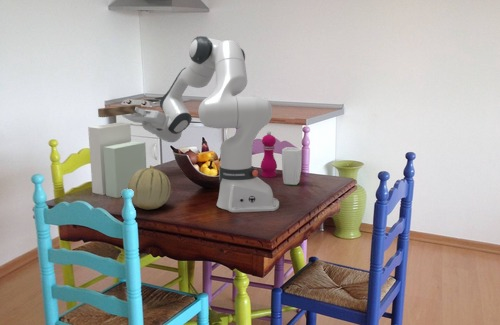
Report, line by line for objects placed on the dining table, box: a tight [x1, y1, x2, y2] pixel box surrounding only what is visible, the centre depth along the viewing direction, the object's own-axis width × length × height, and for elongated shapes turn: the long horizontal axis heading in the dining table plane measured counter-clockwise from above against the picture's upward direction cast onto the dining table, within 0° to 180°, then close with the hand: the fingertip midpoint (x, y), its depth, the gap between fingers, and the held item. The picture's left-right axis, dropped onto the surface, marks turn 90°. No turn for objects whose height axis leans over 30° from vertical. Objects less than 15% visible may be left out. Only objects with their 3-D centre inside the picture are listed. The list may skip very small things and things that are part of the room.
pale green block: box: [103, 140, 147, 199], centre depth 207 cm, size 16×6×19 cm, turn 146°
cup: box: [281, 146, 303, 186], centre depth 220 cm, size 7×7×15 cm
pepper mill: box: [260, 131, 278, 179], centre depth 233 cm, size 7×7×20 cm
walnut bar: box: [97, 103, 142, 118], centre depth 212 cm, size 20×3×3 cm, turn 146°
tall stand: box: [87, 122, 132, 196], centre depth 211 cm, size 16×6×26 cm, turn 146°
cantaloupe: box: [128, 165, 172, 211], centre depth 186 cm, size 15×15×15 cm
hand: (131, 108), depth 216 cm, fingers closed on walnut bar, 3 cm apart
